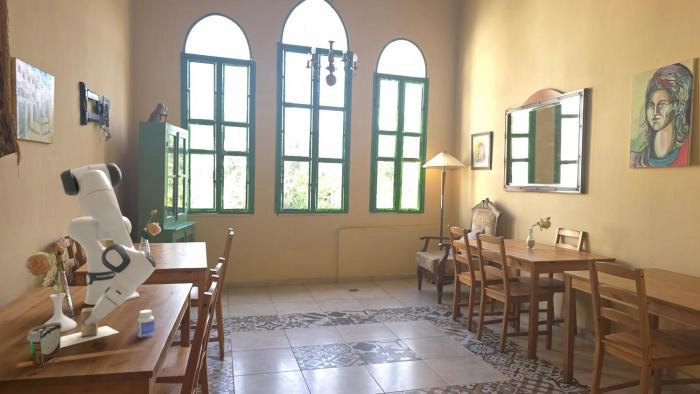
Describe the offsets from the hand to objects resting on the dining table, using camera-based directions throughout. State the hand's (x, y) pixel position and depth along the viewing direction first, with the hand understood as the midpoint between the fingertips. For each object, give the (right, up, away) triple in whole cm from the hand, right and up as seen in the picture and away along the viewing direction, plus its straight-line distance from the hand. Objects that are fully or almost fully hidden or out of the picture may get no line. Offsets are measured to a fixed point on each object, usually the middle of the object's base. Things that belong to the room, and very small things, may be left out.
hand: (87, 320), depth 159 cm
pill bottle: (+21, -6, +1) cm, 22 cm away
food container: (-4, -7, -18) cm, 20 cm away
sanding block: (+1, -5, +1) cm, 5 cm away
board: (-1, -6, -1) cm, 7 cm away
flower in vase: (-14, -6, +6) cm, 17 cm away
